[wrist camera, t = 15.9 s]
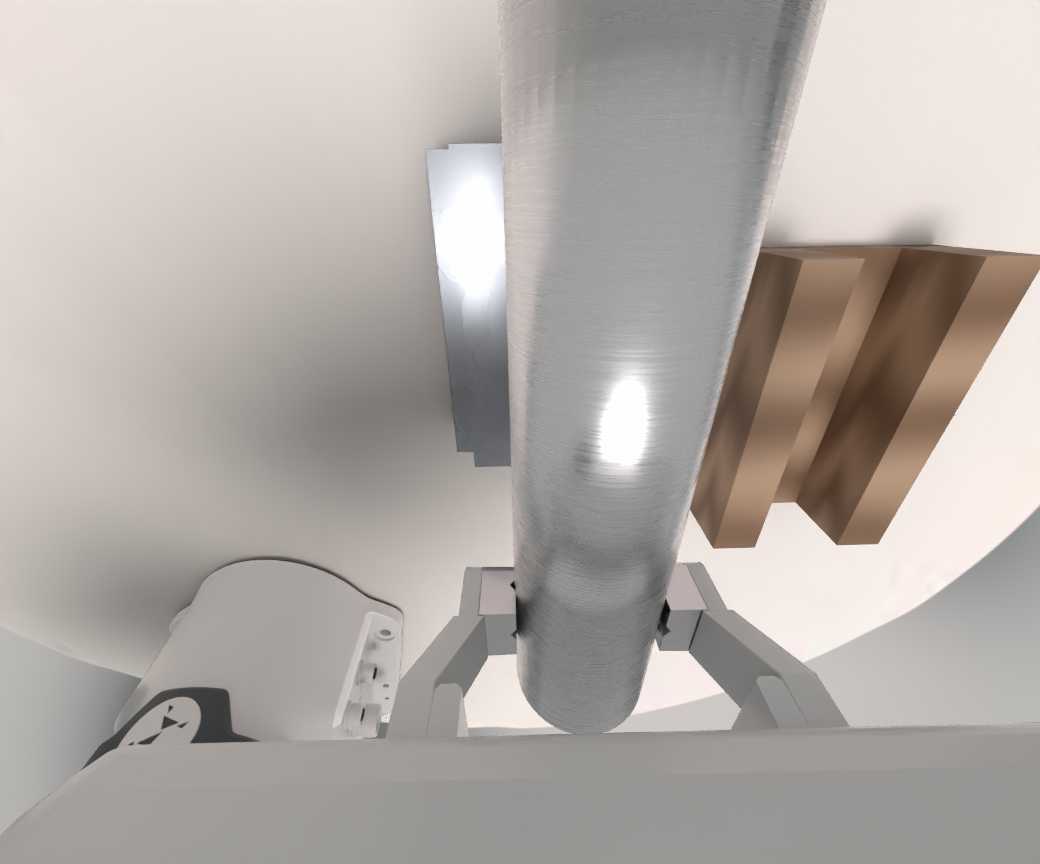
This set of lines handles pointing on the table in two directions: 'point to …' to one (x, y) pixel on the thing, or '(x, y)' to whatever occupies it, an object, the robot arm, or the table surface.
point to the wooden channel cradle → (848, 381)
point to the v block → (473, 293)
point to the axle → (626, 302)
